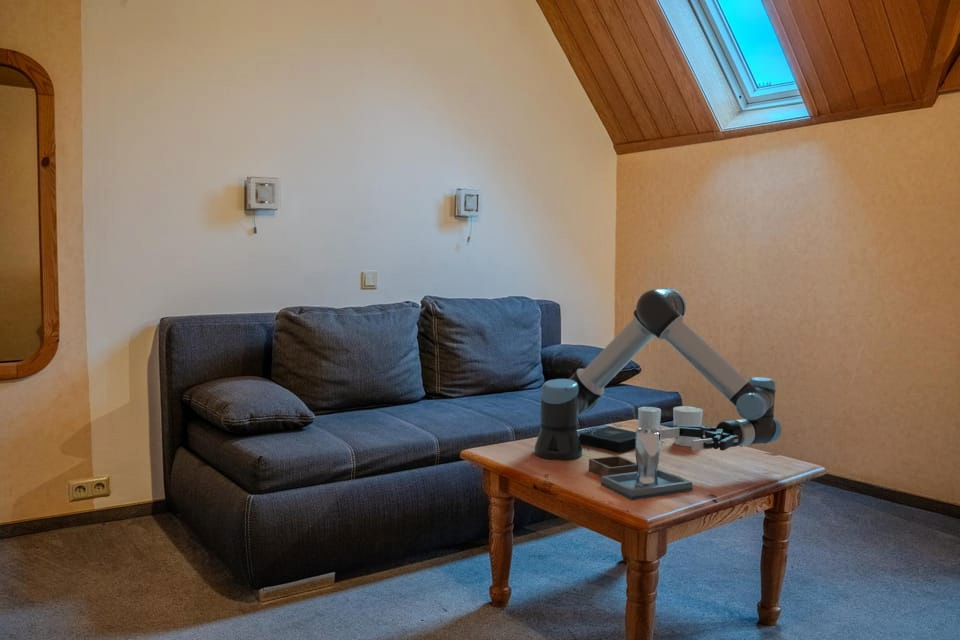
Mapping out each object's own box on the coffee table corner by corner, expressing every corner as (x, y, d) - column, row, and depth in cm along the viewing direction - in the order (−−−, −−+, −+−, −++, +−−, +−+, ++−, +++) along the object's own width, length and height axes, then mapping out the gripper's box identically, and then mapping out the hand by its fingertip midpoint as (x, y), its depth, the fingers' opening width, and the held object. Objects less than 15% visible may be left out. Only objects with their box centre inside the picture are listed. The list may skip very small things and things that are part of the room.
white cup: (658, 434, 267) (659, 407, 266) (661, 439, 259) (662, 411, 258) (636, 433, 268) (636, 406, 267) (638, 439, 260) (639, 410, 259)
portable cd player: (607, 437, 264) (607, 426, 264) (648, 446, 252) (648, 434, 252) (577, 444, 253) (578, 433, 252) (619, 454, 241) (619, 442, 240)
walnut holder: (588, 470, 220) (589, 459, 220) (618, 466, 225) (618, 455, 224) (609, 480, 211) (609, 468, 210) (639, 476, 215) (640, 464, 215)
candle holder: (706, 443, 255) (707, 409, 254) (693, 448, 247) (694, 413, 246) (680, 438, 261) (681, 405, 260) (666, 443, 254) (667, 409, 253)
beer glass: (628, 482, 206) (630, 429, 204) (649, 479, 208) (650, 427, 207) (644, 489, 199) (646, 434, 198) (665, 486, 202) (666, 432, 201)
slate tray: (601, 485, 206) (601, 476, 206) (659, 477, 215) (659, 468, 214) (631, 500, 194) (631, 491, 193) (691, 491, 202) (692, 482, 202)
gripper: (766, 457, 205) (706, 464, 196) (703, 436, 228) (647, 442, 219) (768, 430, 204) (708, 436, 196) (705, 412, 227) (648, 417, 218)
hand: (676, 439), depth 207 cm, fingers open, 13 cm apart
